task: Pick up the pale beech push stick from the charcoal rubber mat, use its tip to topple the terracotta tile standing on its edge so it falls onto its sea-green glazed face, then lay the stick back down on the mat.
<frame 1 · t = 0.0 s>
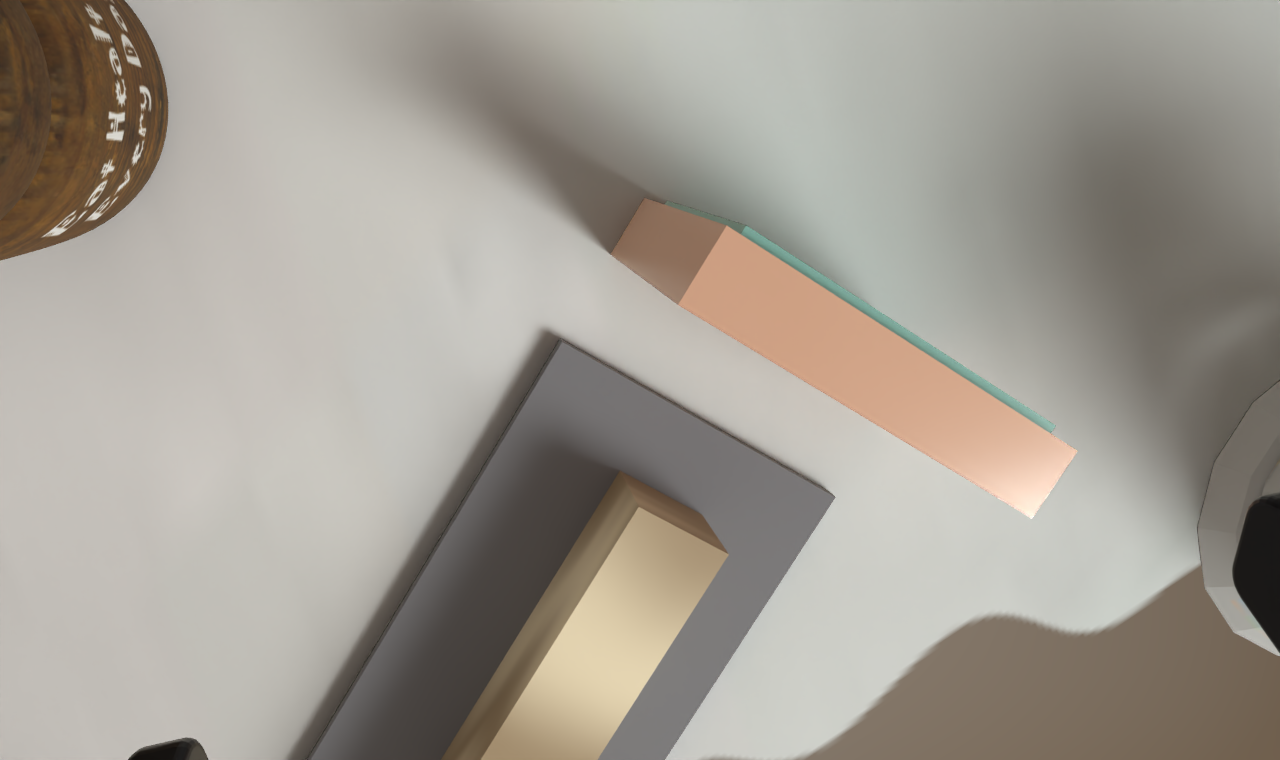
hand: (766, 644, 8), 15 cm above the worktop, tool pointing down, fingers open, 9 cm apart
utensil holder: (22, 87, 20), on the worktop
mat: (513, 718, 25), on the worktop
tile: (766, 312, 24), on the worktop
stick: (514, 727, 25), resting on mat
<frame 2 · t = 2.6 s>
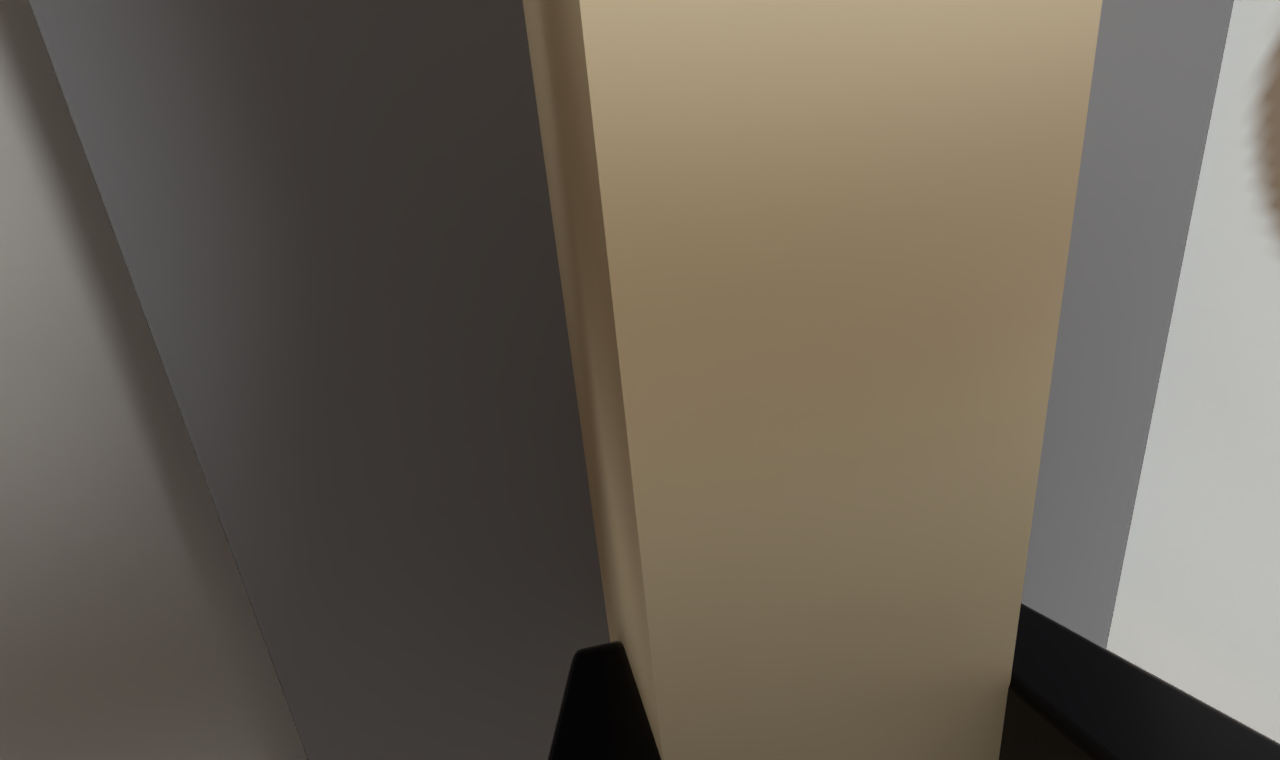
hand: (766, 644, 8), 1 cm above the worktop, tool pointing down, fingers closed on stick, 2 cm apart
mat: (702, 195, 8), on the worktop
stick: (717, 212, 7), resting on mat, touching gripper
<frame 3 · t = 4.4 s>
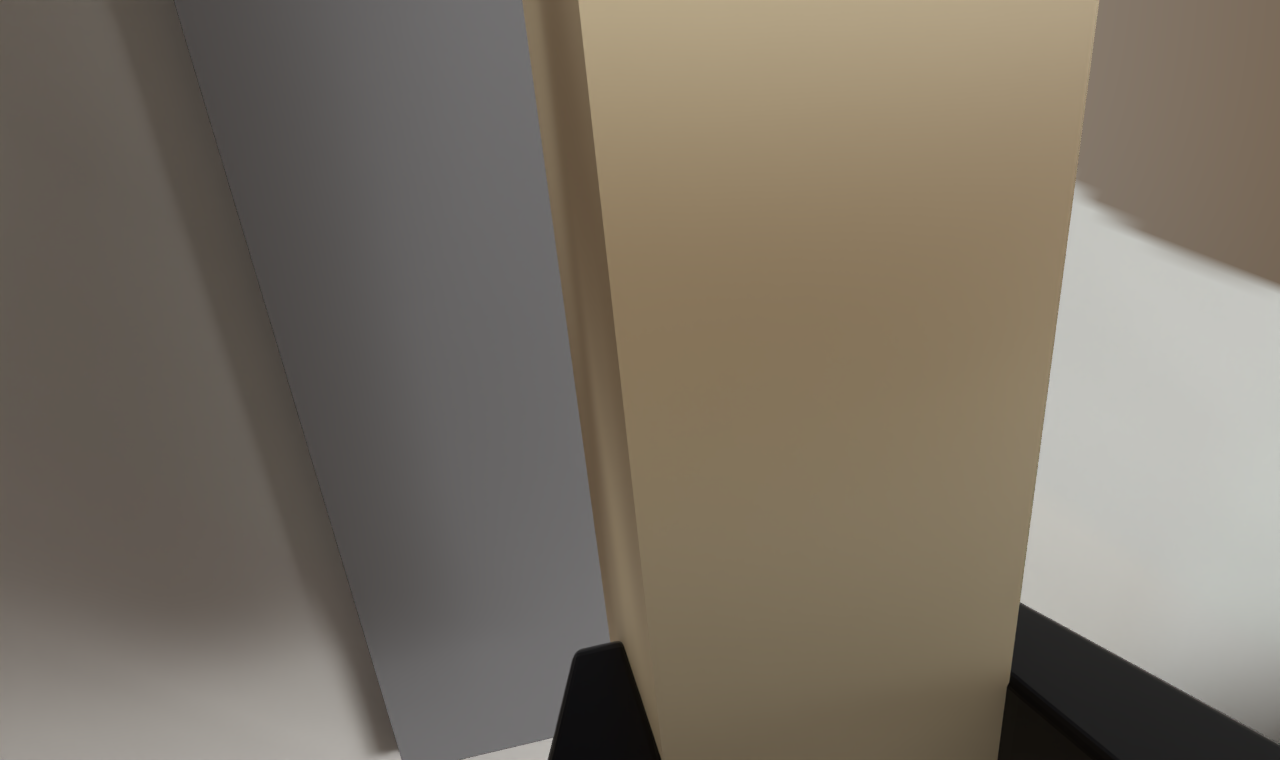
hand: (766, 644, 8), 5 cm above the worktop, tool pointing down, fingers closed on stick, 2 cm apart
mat: (607, 102, 11), on the worktop
stick: (717, 209, 7), point 4 cm above the worktop, touching gripper
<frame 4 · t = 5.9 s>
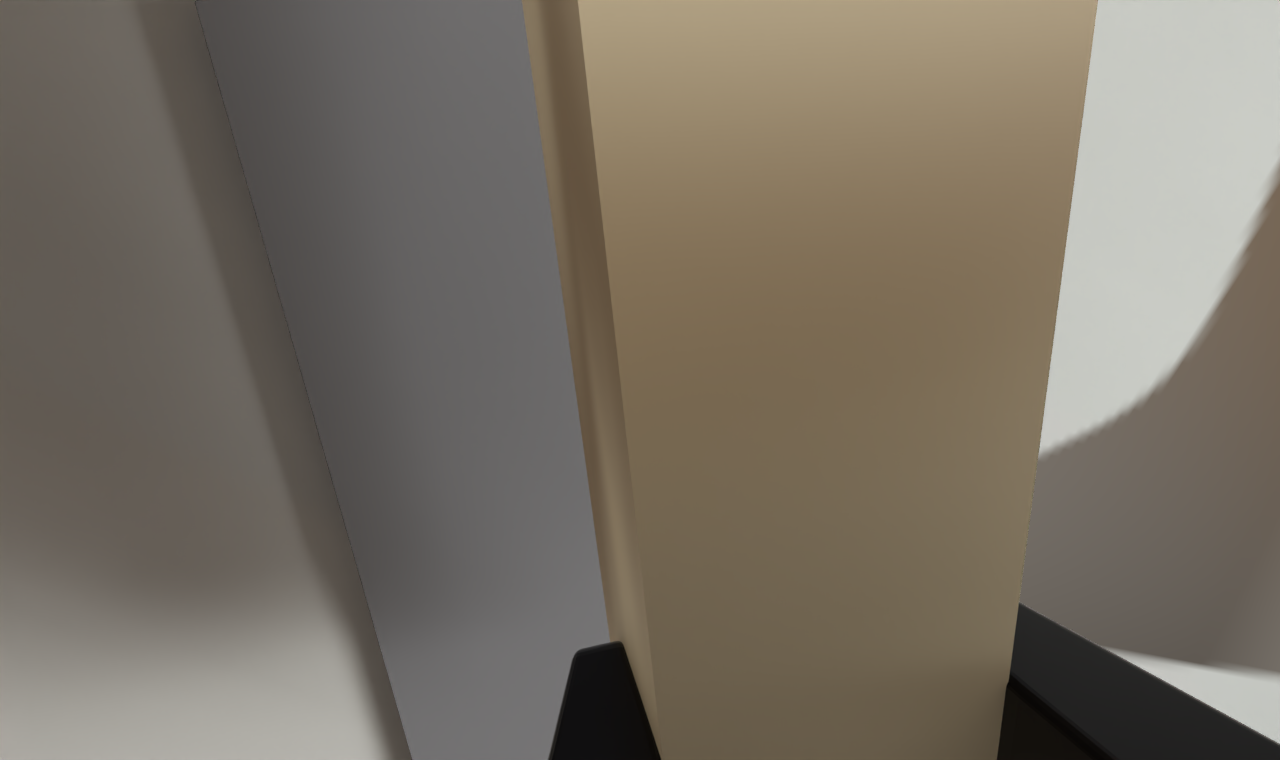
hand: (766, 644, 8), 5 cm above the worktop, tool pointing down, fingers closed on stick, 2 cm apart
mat: (667, 609, 15), on the worktop
stick: (716, 210, 7), point 4 cm above the worktop, touching gripper
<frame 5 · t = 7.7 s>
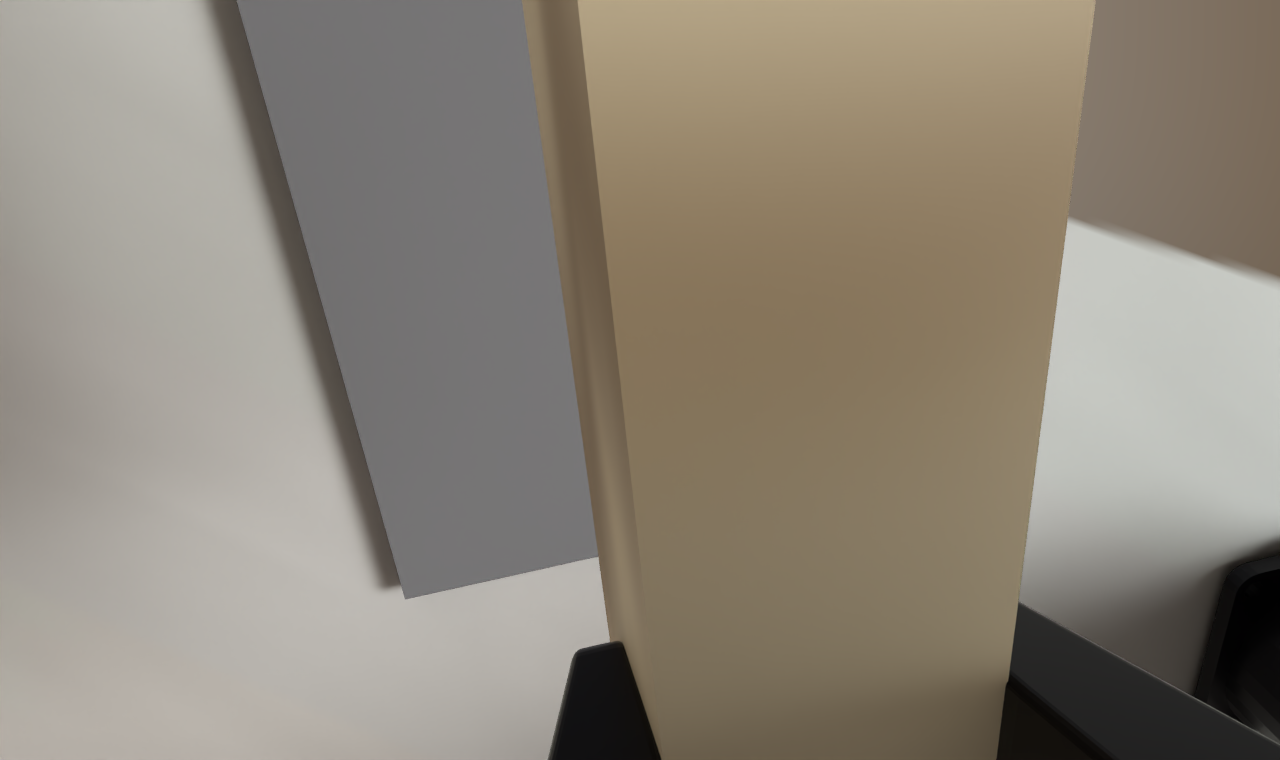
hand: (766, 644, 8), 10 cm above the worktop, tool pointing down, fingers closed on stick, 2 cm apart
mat: (543, 79, 15), on the worktop
stick: (716, 207, 7), point 9 cm above the worktop, touching gripper
when the fingers open (3 cm above the worktop, at t = 9.1 s): stick drops 1 cm, resting on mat.
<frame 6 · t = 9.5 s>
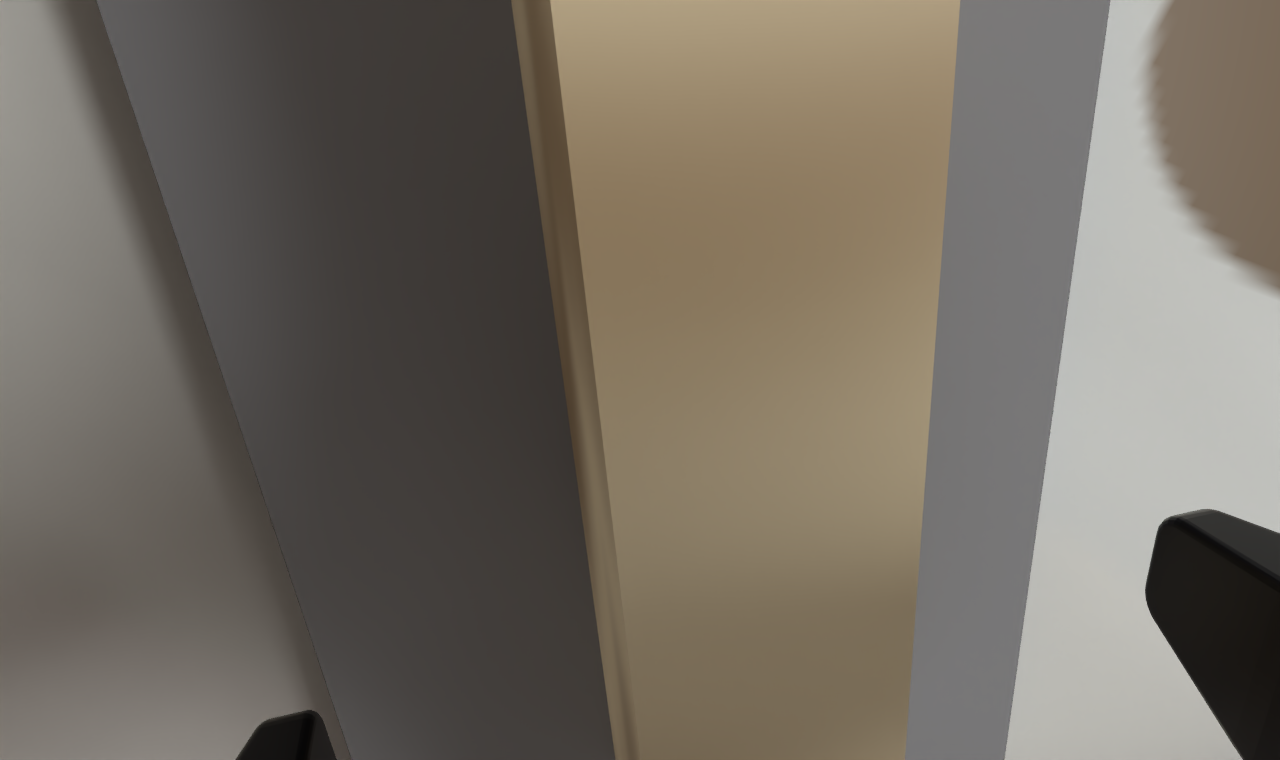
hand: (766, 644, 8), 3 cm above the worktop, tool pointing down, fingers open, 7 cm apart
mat: (657, 145, 9), on the worktop
stick: (676, 166, 8), resting on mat
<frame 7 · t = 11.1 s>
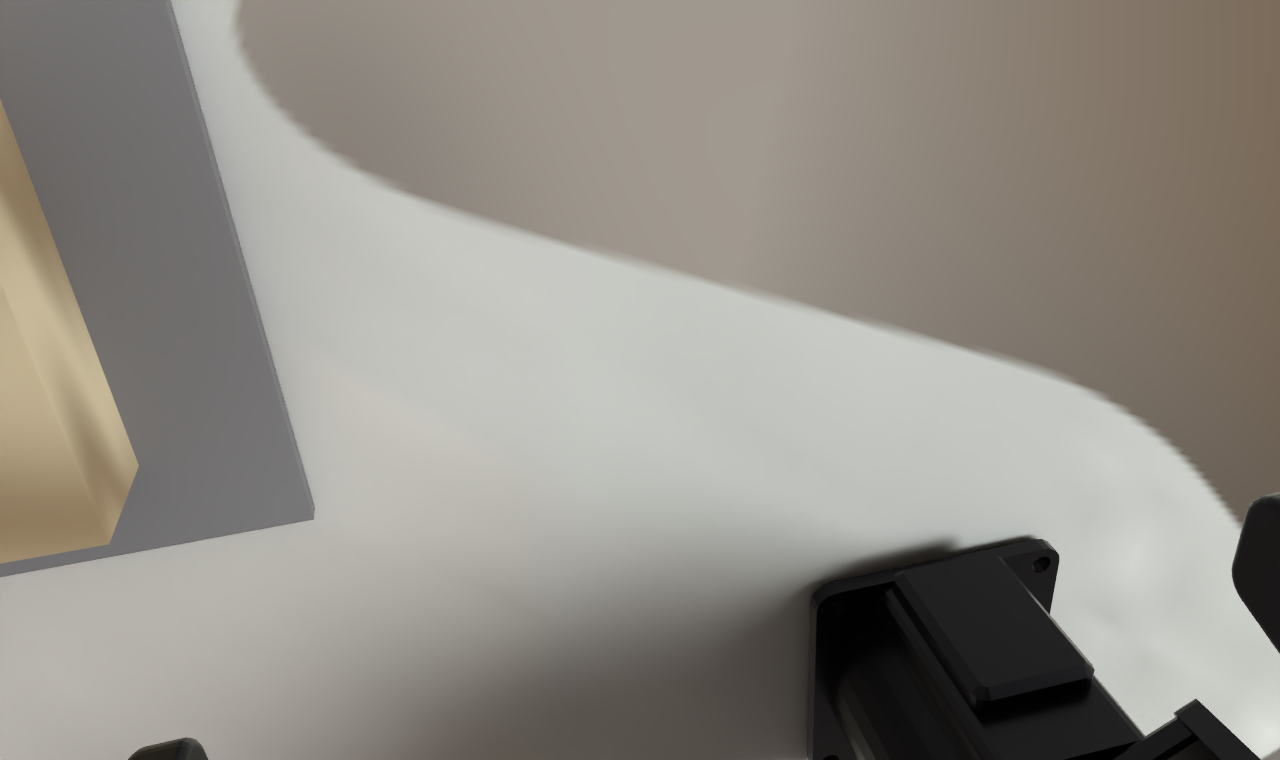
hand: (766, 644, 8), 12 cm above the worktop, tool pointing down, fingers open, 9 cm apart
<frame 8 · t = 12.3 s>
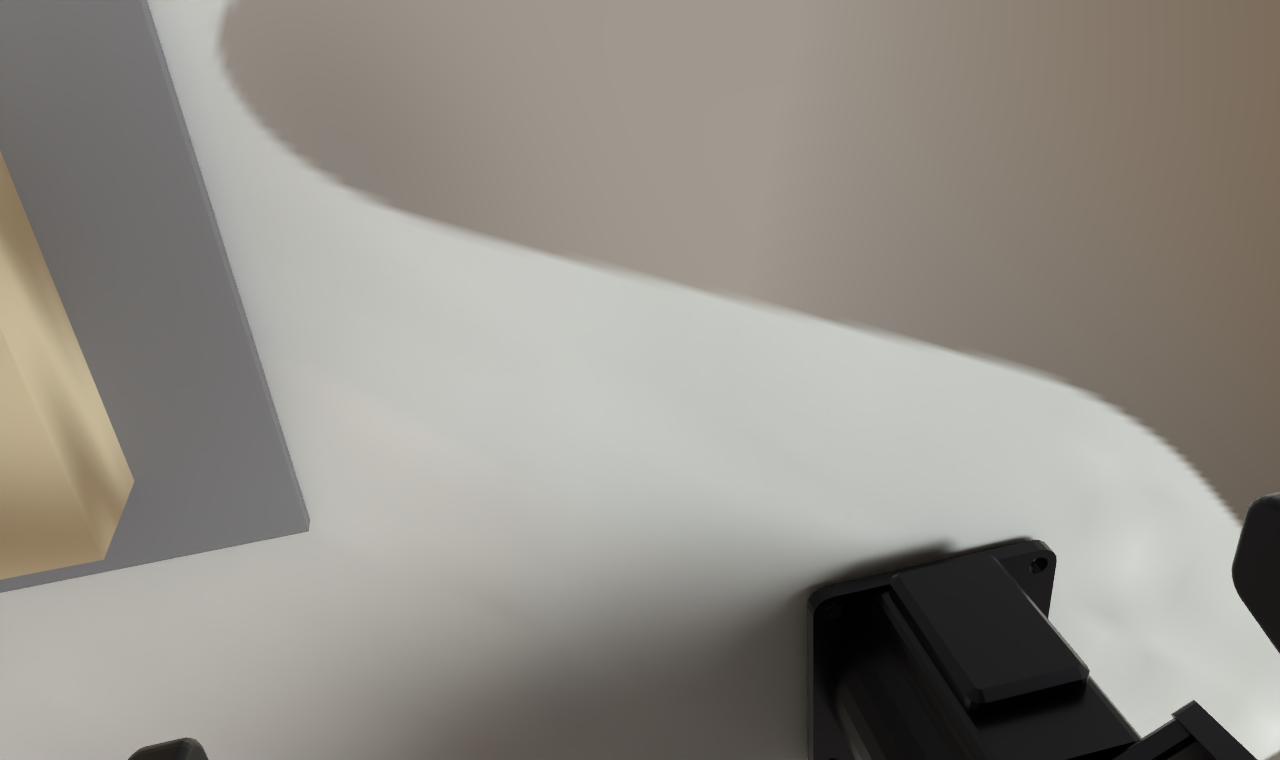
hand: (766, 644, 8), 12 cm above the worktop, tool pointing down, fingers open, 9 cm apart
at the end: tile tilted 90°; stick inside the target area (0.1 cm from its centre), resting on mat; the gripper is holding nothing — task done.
